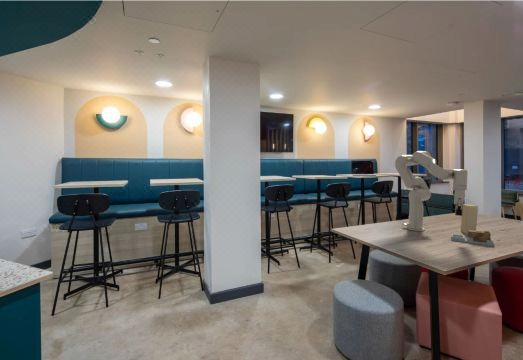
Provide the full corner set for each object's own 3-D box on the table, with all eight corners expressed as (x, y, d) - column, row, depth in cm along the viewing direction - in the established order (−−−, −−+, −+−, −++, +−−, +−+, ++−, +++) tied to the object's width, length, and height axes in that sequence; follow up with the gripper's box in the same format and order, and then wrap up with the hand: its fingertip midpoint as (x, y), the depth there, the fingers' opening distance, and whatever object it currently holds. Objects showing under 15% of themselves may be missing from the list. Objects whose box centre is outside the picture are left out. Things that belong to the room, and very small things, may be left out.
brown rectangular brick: (455, 215, 188) (455, 205, 188) (455, 214, 192) (455, 204, 191) (462, 216, 186) (463, 205, 186) (462, 215, 190) (462, 204, 189)
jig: (451, 240, 189) (451, 235, 189) (450, 237, 196) (451, 232, 196) (494, 246, 177) (494, 241, 176) (492, 242, 184) (492, 237, 184)
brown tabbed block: (467, 240, 186) (468, 229, 185) (467, 238, 190) (467, 228, 189) (490, 242, 180) (490, 232, 179) (489, 241, 184) (489, 230, 183)
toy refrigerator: (477, 234, 202) (479, 206, 201) (465, 234, 204) (467, 205, 202) (471, 231, 210) (473, 204, 208) (460, 231, 211) (462, 204, 210)
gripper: (452, 186, 197) (451, 212, 198) (453, 188, 183) (452, 216, 184) (466, 186, 193) (464, 213, 194) (467, 189, 179) (466, 217, 180)
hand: (458, 214), depth 189 cm, fingers closed on brown rectangular brick, 4 cm apart
